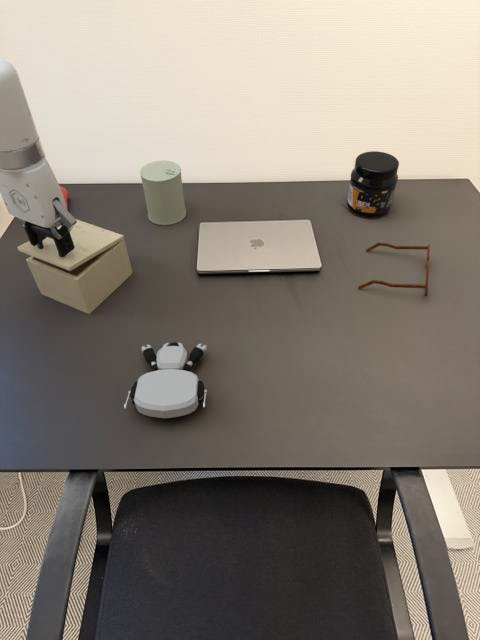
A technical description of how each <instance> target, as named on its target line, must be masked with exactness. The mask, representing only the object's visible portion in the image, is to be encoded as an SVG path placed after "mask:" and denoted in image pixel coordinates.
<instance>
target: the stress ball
mask: <svg viewBox="0 0 480 640" xmlns="http://www.w3.org/2000/svg"><path fill="white" fill-rule="evenodd" d="M59 186H60V185H59ZM60 189H61V191H62V194H63V197H64V200H65V203H66V206H67V210H68V207H69V204H68V203H69V202H68V200H69V199H68V198H69V192H68V190H67V189H66V188H65V187H63V186H60Z"/></svg>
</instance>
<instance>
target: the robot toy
mask: <svg viewBox="0 0 480 640" xmlns="http://www.w3.org/2000/svg"><path fill="white" fill-rule="evenodd" d="M145 346H146V347H145ZM207 348H208V346H207V345H206V344H203V343H198V344H197V345H196V346H194V347H193V348H192V349H191V351H190V353H189V355H188V351H187V349H186V348H185V347H184V345H183V343H181V342H179V341H177V342H176V341H173V342H171V343H170V342H166V343H164V344H163V346H162V347H161V348H160V349H159V350H158V351H157V352H155V350H154V349H153V346H152V345H150V344H146V345H142V346H141V352H142V356H143V357H144V361H145V362H146V363H147V364H148V365H150V370H151V371H149V372H146V373H144V374H142V375H140V376H139V378H138V379H137V381H135V382H134V383H133V385H132V386H131V388H130V390H128V392H127V394H128V395H127V397H126V399H125V403H124V404H123V408H124V409H127V406H128V402H129V400H130V401H131V404H132V405H133V406H135V408H136V410H137V412H139V413H140V414H142V415H144V416H147V417H151V418H159V419H172V418H177V417H183V416H187V415H190V414H191V413H193V412H195V411H196V410H197V409H198V406H199V405H201V404H202V408H206V399H207V395H208V389H205V388H206V387H205V384H204V382H203V381H202V380H200V379H199V377H198V375H197V374H196V373H194V372H192V366H193V365H196V364H198V363H199V362H200V361H201V360H202V358H203V357H204V355H205V354H204V353H205V352H206V351H207Z"/></svg>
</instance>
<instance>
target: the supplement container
mask: <svg viewBox="0 0 480 640" xmlns="http://www.w3.org/2000/svg"><path fill="white" fill-rule="evenodd" d="M399 167H400V161H399V160H398V159H397V157H395V156H394V155H392V154H390V153H387V152H384V151H377V150H376V151H375V150H372V151H366V152H362V153H360V154H359V155H357V156H356V158H355V161H354V167H353V169H352V170H351V172H350V181H349V187H348V193H347V198H346V206H347V208H348V210H349V211H351V212H352V213H353V214H354V215H357V216H359V217H362V218H368V219H369V218H371V219H373V218H381V217H383V216H384V215H386V214H388V213H389V212H390V210H391V208H392V203H393V199H394V195H395V191H396V186H397V183H398V181H399V174H398V172H399Z"/></svg>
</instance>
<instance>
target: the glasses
mask: <svg viewBox="0 0 480 640" xmlns="http://www.w3.org/2000/svg"><path fill="white" fill-rule="evenodd" d="M381 246H382V247H387V248H391V249H394V250H426V265H425V269H426V272H425V284H414V283H413V284H411V283H391V282H388V281H383V280H376V279H372V280H369V281H367V282H365V283H362V284H360V285H358V289H359V290H361V289H364V288H366V287H369V286H371V285H374V284H376V285H382V286H386V287H389V288H400V289H401V288H403V289H404V288H405V289H424V296H426V297H427V296H428V290H429V289H428V288H429V272H430V271H429V268H430V253H431V252H430V251H431V250H430V249H431V245H430V244H427V245H394V244H391V243H388V242H387V243H385V242H377V243H374V244H373V245H371V246H369V247H368V248H366V249H365V251H366V253H369V252H371V251H373V250H375V249H376V248H378V247H381Z"/></svg>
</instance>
